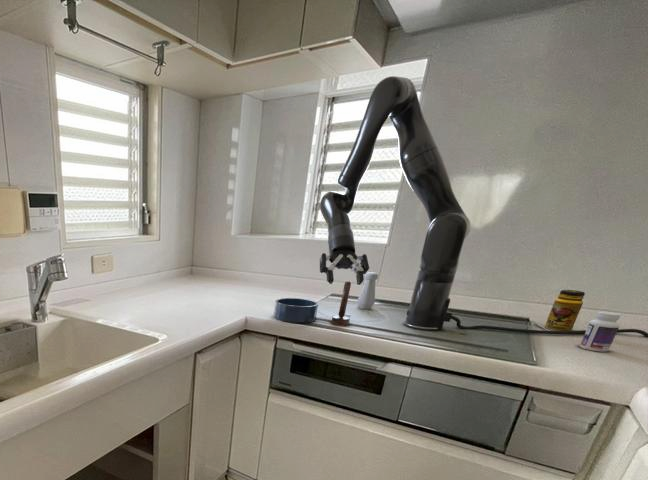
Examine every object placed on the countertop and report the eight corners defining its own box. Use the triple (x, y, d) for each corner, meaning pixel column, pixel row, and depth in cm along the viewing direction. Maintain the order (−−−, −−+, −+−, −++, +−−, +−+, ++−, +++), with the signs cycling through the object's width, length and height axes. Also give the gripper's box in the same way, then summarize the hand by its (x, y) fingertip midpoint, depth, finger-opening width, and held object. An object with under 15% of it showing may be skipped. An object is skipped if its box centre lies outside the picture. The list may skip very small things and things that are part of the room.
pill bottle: (613, 351, 105) (630, 314, 102) (599, 352, 104) (616, 316, 100) (587, 345, 110) (602, 310, 106) (574, 346, 109) (589, 311, 105)
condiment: (548, 331, 122) (564, 292, 118) (535, 324, 130) (550, 287, 125) (579, 334, 120) (596, 294, 115) (564, 327, 127) (580, 289, 123)
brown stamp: (348, 322, 130) (356, 280, 125) (349, 326, 126) (358, 283, 121) (330, 320, 132) (338, 279, 127) (331, 324, 127) (339, 281, 122)
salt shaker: (375, 310, 147) (383, 274, 142) (358, 309, 148) (366, 273, 143) (370, 306, 152) (378, 271, 147) (354, 305, 153) (361, 271, 148)
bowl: (315, 315, 138) (317, 300, 136) (315, 325, 126) (318, 308, 124) (275, 312, 142) (277, 296, 140) (272, 321, 131) (274, 304, 128)
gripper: (322, 233, 129) (326, 274, 123) (368, 234, 128) (374, 276, 121) (315, 249, 136) (318, 289, 130) (359, 250, 135) (364, 290, 128)
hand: (345, 282), depth 126 cm, fingers open, 8 cm apart
